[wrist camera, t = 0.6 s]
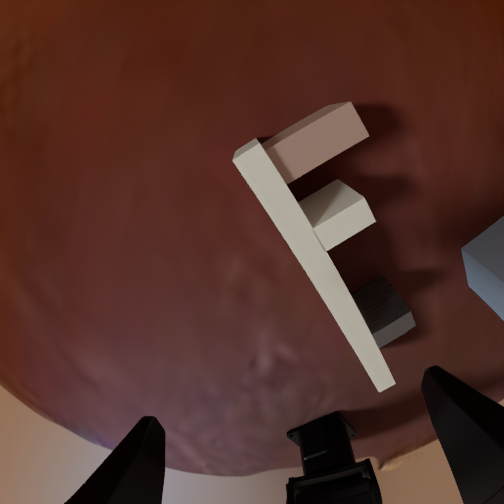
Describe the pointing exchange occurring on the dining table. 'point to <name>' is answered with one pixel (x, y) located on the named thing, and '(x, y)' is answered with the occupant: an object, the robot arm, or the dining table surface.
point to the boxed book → (487, 265)
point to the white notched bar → (317, 213)
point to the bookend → (383, 311)
